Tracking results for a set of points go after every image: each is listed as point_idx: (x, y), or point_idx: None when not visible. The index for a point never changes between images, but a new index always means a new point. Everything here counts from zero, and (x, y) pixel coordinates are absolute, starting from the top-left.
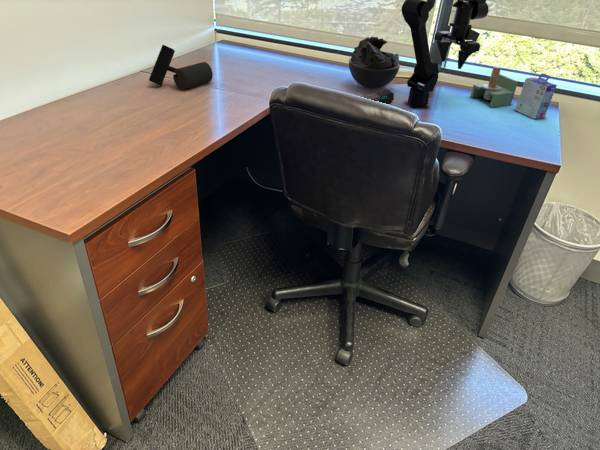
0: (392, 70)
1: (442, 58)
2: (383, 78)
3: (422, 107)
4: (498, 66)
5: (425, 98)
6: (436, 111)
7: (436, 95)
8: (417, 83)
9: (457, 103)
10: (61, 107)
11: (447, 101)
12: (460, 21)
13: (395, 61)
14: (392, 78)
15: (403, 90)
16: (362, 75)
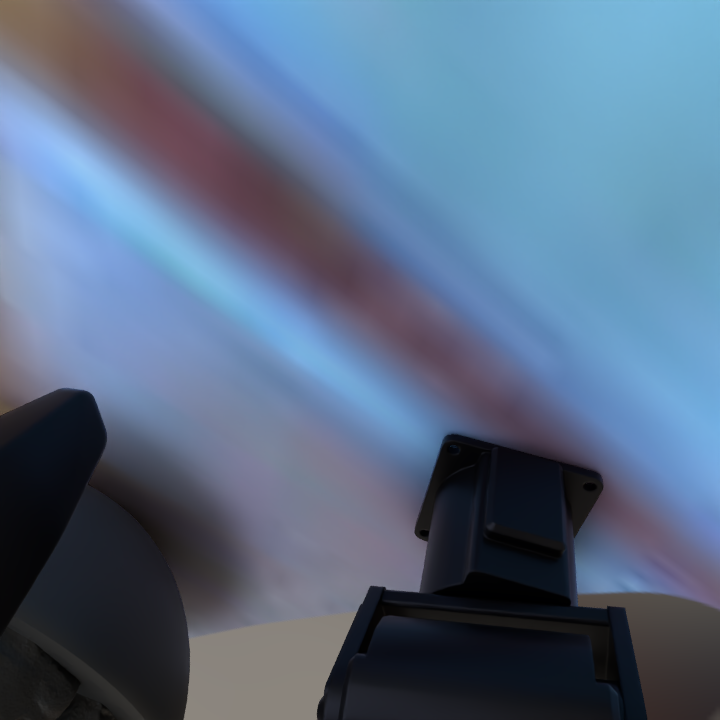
0: (149, 706)
1: (66, 525)
2: (188, 674)
3: (583, 516)
4: None
5: (570, 552)
6: (713, 467)
7: (339, 154)
8: (389, 607)
9: (695, 80)
10: None
11: (563, 167)
12: None
13: (14, 710)
14: (150, 590)
15: (153, 367)
16: None
